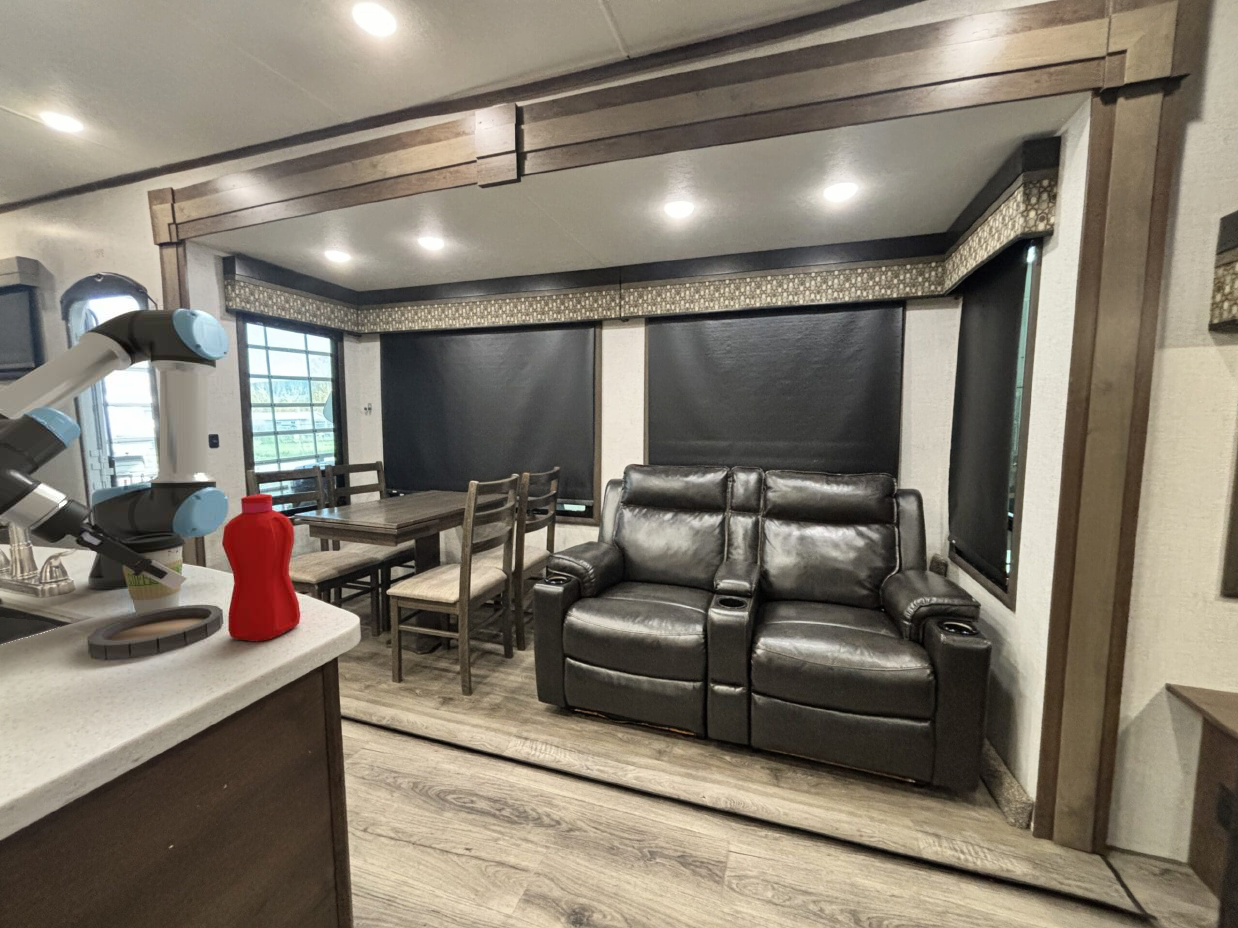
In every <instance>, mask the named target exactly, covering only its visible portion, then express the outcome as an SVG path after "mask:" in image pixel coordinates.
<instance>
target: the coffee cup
mask: <svg viewBox="0 0 1238 928" xmlns="http://www.w3.org/2000/svg"><path fill="white" fill-rule="evenodd" d="M120 544H122V545H124V546H126V547H127V548H129V549H131V550H133V551H135V552H136V553H138V554H140V555H142V556H144V557H145V558H147V559H150V560H151V561H152V560H153V561H155V562H157V563H159V564H161V565H163V566H165V567H167V568H169V569H171V570H173V571H175V572H177V573H179V574H181V575H182V573H183V559H184V557H183V546H184V545H185V544H186V542H185V540H184V538H182V537H181V536H180V534H178V533H162V534H152V535H144V536H138V537H133V538H129V539H125V540H122V541H121V543H120ZM139 562H141V561H139ZM139 562H138V563H139ZM138 563H137V564H138ZM137 564H136V565H137ZM136 565H135V566H136ZM122 568H123V571H124V575H125V579H126V582H127V586H128V587H127V588H128V589H127V590H128V593H129V594H128V595H129V597H130V600H131V601H132V605H133V607H134V608H133V609H134V612H135V615H138V614H142V613H146V612H151V611H155V610H159V609H160V610H162V609H165V608H172V607H178V606H179V605H180V591H181V589H182V588H181V587H182V584H181V585H180V586H179V587H178V588H177V589H176V590H174V589H172V588H170V587H168V586H166V585H164V584H162V583H159V582H157V581H155V580H153V579H151V578H149V577H147V576H145V575H143V574H139V575H138V576H135V575H133V574H134V573H135V572H134V571H133V570H132V569H130V568H128V567H126V566H124V565H123V566H122ZM182 576H183V575H182Z"/></svg>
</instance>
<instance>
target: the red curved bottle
mask: <svg viewBox="0 0 1238 928" xmlns="http://www.w3.org/2000/svg"><path fill="white" fill-rule="evenodd" d="M240 501H241V502H240V504H241V513H240V514H238V515H236V516H234V517H233V518H231V519H230V520H229V521H228V522H227V524H226V525H224V527H223V528H224V529H223V537H222V542H221V546H222V547H223V549H224V552H225V555H226V557H227V561H228V563H229V566H230V568H231V571H232V574H233V583H234V584H233V589H232V594H231V599H230V604H229V609H228V628H227V629H228V634H229V636H230V638H232V639H234V640H240V641H251V642H263V641H268V640H272V639H274V638H276V637H278V636H281V635H282V634H284V633H286V632H288V631H290V630H293V629H295V628H296V627H297V626H298V625H299V624H300V620H301V609H300V604H299V603H300V602H299V599H298V596H297V593H296V590H295V587H294V585H293V581H292V580H291V579H292V578H291V576H290V561H291V558H292V552H293V548H294V544H295V529H294V526H293V525H294V524H293V523H292V522H291V520H290V518H289V517H288V516H286V515H285V514H283V513H280V511H277V510H274V509H273V497H272V494H269V493H268V494H267V493H257V494H252V495H247V496H244V497H241V498H240Z"/></svg>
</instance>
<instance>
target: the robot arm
mask: <svg viewBox="0 0 1238 928" xmlns="http://www.w3.org/2000/svg"><path fill="white" fill-rule="evenodd" d="M229 347H230V346H229V339H228V335H227V332H226V330H225V328H224V327H223V326H222V325H221V323H220V322H219V320H217V319H216V318H215V317H214V316H213V315H211V314H209V313H208V312H205V311H202V310H199V309H187V308H178V309H177V308H176V309H137V310H131V311H127V312H124V313H121V314H119V315H116V316H115V317H112V318H110V319H108V320H106V321H104V322H102V323H100V324H98V325H96V326H95V327H92V328H91V329H89V330H88V331H86V332H84V333H83V334H81V335H80V336H79V337H78V343H77V344H76V345H73V346H72V347H70V348H69V349H67V350H65V351H63V352H62V353H60V354H59V355H57V356H55V357H54V358H52V359H51V360H49V361H47V362H45V363H43V364H42V365H40V366H39V367H37V368H35V369H34V370H32V371H30V372H28V373H27V374H26V375H23V376H22V377H20V378H19V379H17V380H15V381H13V382H12V383H10V384H9V385H7V386H5V387H3V388H2V389H0V409H2V410H0V519H1V522H0V524H1V525H2V526H5V527H6V526H9V525H10V524H12V523H13V526H15V527H17V528H19V529H21V530H28V529H30V533H31V535H33V536H35V537H37V538H40V539H41V540H43V541H46V542H47V543H50V544H54V543H55V544H56V543H57V542H60V541H61V540H63V539H65V537H66V536H68V535H70V536H72V537H73V538H76V539H75V540H74V541H75V543H76V544H77V545H79V546H80V547H83V548H87V549H89V550H91V551H93V552H95V557H94V560H93V563H92V565H91V568H90V569H91V570H90V571H89V575H88V578H87V579H88V580H87V581H88V588H90V589H93V590H113V589H114V590H115V589H123V588H128V586H127V582H126V579H125V575H124V571H123V568H122V566H123V565H124V566H126V567H128V568H130V569H132V570H133V571H134V572H135V573H134V574H133V575H135V576H138V575H139V574H143V575H145V576H147V577H149V578H151V579H153V580H155V581H157V582H159V583H162V584H164V585H166V586H168V587H170V588H172V589H174V590H176V589H177V588H178V587H179V586H180V585H181V586H182V584H183V583H184V582H185V581H186V580H187V579H188V578H187V577H186V576H184V575H181V574H179V573H177V572H175V571H173V570H171V569H169V568H167V567H165V566H163V565H161V564H159V563H157V562H155V561H153V560H152V561H151V560H150V559H147V558H145V557H144V556H142V555H140V554H138V553H136V552H135V551H133V550H131V549H129V548H127V547H126V546H124V545H122V544H120V543H121V541H122V540H125V539H129V538H133V537H138V536H144V535H152V534H162V533H178V534H180V536H181V538H182V539H189V538H198V537H199V538H200V537H206V536H209V535H211V534H212V533H214V532H216V531H217V530H219V529H220V526H222V525H223V524H224V523H225V521H226V519H227V516H228V513H229V509H230V503H229V498H228V496H226V493H225V492H224V491H223V490H221V489H219V488H217V480H216V478H215V477H213V476H211V475H210V473H209V416H208V415H209V377H210V375H211V374H213V373H214V372H215V371H216V369H217V361H218V360H221V359H223V358H224V357H225V356H226V354H228V352H229ZM146 361H147V362H148V361H150V365H152V366H153V367H154V368H155V369H157V370H158V372H159V474H158V475H157V476H155V477H154V478H153V479H151V480H150V482H145V483H143V482H142V483H136V484H135V483H134V484H126V485H121V486H114V487H113V486H112V487H106V488H100V489H96V490H95V491H94V492H93V493H92V494H91V506H90V507H88V506H86V505H85V504H83V503H82V502H79V501H77V500H75V499H67V494H64V493H63V492H61V491H59V490H58V489H55V488H54V487H52V486H50V485H48V484H47V483H44V482H43V481H40V480H39V479H36V478H34V477H33V476H32V475H33V474H34V473H36V472H37V471H38V470H39V469H41V468H42V467H44V466H45V465H46V464H47V463H49V462H50V461H51V460H53V459H54V458H55V457H57V456H58V455H59V454H61V453H62V452H64V451H65V450H67V449H68V448H70V446H71V445H72V444H73V443H74V442H75V441H77V439H78V438H80V436H81V433H82V432H81V431H82V430H81V428H80V426H79V424H78V423H77V422H76V421H75V420H74V419H73V417H71V416H70V415H68V414H66V413H63V412H62V411H60V410H59V409H60V408H62V407H63V406H65V405H66V404H67V403H69V402H70V401H72V400H73V399H75V398H77V396H79V395H81V394H82V393H84V392H85V391H87V390H89V389H90V388H91V387H92V386H94V385H96V384H97V383H99V382H100V381H102V380H103V379H105V378H106V377H107V376H109V375H110V374H112V373H113V372H115V371H125V370H128V369H129V368H130V367H132V366H133V365H136V364H139V363H142V362H146ZM90 516H92V522H93V523H92V522H88V521H86V520H87V519H88V518H89V517H90ZM84 521H86V522H84ZM139 561H141V562H139ZM138 562H139V563H138ZM137 563H138V564H137ZM136 564H137V565H136ZM135 565H136V566H135Z"/></svg>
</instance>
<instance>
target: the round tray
mask: <svg viewBox="0 0 1238 928" xmlns="http://www.w3.org/2000/svg"><path fill="white" fill-rule="evenodd" d="M222 624H223V625H224V612H223V609H222V608H220V607H219V606H217V605H213V604H212V605H211V604H188V605H180V606H178V607H172V608H165V609H162V610H160V609H159V610H155V611H151V612H146V613H142V614H138V615H136V614H135V615H131V616H127V617H126V618H123V619H122V618H121V619H118V620H116V621H114V622H110V623H107V625H104V626H101V627H100V628H98V629H95V630H94V631H93V632H92V633H90V634H89V636H87V637H86V638H87V648H88V654H89V656H90V658H91V659H94V660H101V661H121V660H122V661H123V660H133V659H138V658H144V657H150V656H154V655H159V654H163V653H167V652H171V651H174V650H176V649H182V648H184V647H187V646H190V645H192V644H195V643H198V642H200V641H202V640H204V639H207V638H209V637H211V636H212V635H214V634H215V633H217V632H218V631H220V630H221V629H222V627H223V625H222Z"/></svg>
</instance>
